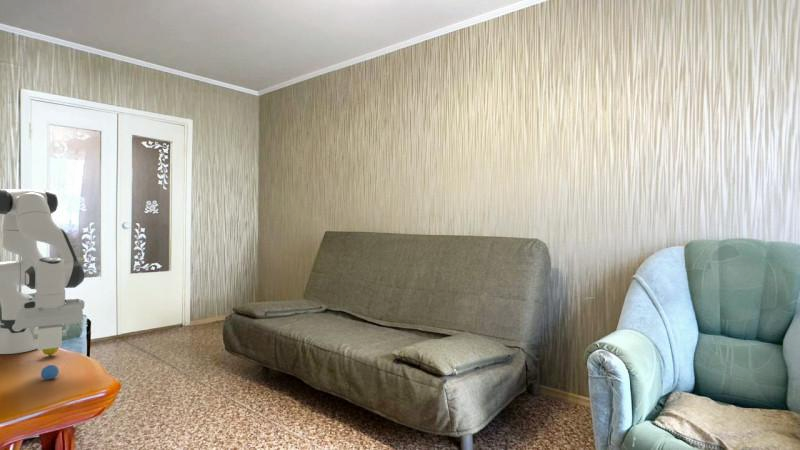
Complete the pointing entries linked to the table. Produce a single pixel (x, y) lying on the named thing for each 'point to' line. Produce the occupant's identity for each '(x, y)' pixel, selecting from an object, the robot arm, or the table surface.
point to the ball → (49, 372)
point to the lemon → (50, 351)
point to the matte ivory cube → (49, 337)
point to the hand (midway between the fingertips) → (50, 337)
